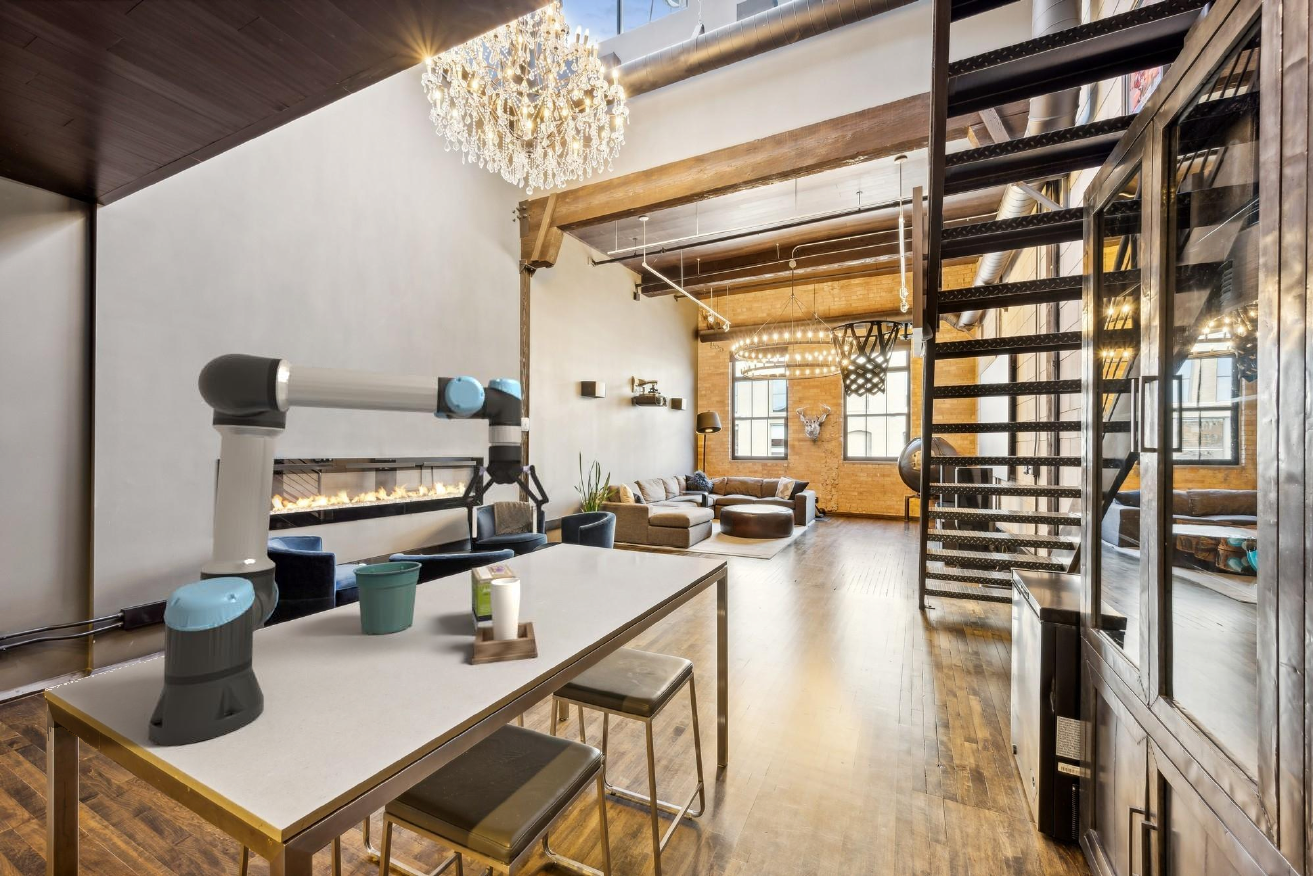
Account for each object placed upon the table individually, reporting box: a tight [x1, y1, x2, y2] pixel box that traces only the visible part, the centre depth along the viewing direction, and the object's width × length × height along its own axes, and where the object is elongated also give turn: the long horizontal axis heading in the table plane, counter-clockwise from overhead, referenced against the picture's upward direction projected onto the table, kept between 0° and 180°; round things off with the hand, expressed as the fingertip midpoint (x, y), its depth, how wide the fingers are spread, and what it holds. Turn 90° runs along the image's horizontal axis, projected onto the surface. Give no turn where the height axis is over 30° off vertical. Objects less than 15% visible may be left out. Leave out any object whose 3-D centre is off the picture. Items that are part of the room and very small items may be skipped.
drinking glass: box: [490, 577, 521, 641], centre depth 124 cm, size 7×7×15 cm
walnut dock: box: [471, 621, 539, 666], centre depth 124 cm, size 14×14×4 cm
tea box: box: [470, 564, 517, 631], centre depth 143 cm, size 15×10×15 cm, turn 25°
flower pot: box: [352, 561, 422, 635], centre depth 142 cm, size 16×16×16 cm
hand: (505, 535), depth 125 cm, fingers open, 13 cm apart
